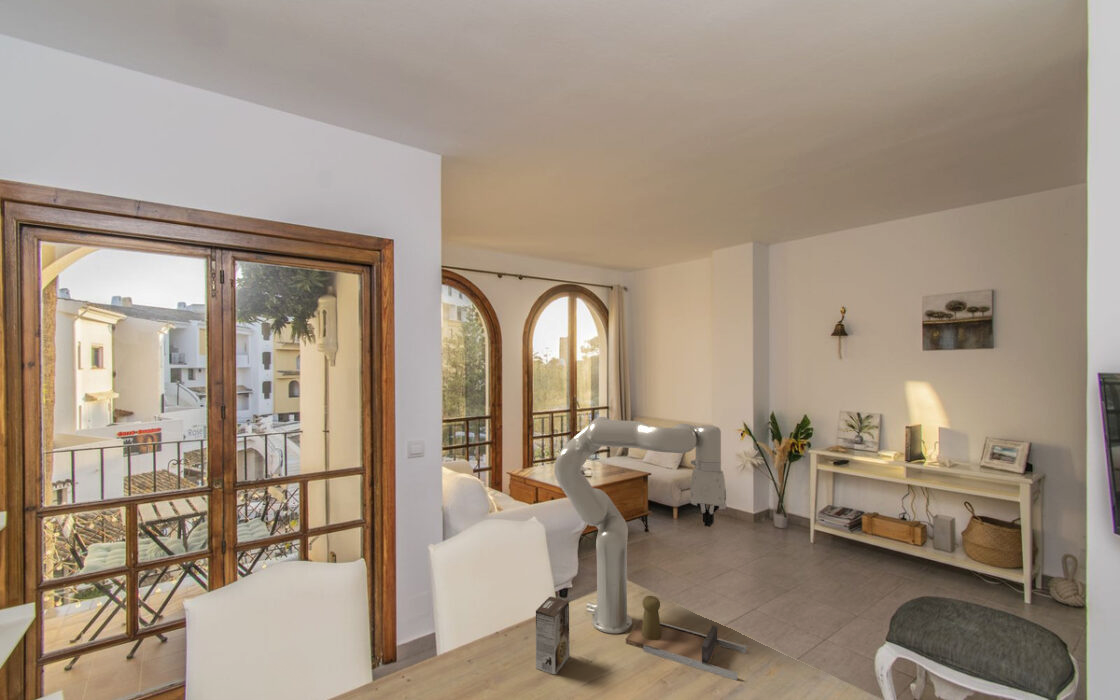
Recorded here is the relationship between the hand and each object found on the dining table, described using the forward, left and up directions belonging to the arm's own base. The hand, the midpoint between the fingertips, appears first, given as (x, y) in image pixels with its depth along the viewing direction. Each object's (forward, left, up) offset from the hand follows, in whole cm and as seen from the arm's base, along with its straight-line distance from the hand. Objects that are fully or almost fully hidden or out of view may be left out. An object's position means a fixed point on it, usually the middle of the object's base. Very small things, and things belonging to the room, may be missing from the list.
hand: (708, 525), depth 156 cm
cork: (-14, -12, -32) cm, 37 cm away
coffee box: (-34, -37, -33) cm, 60 cm away
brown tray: (-8, -12, -33) cm, 36 cm away
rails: (-1, -12, -33) cm, 35 cm away
